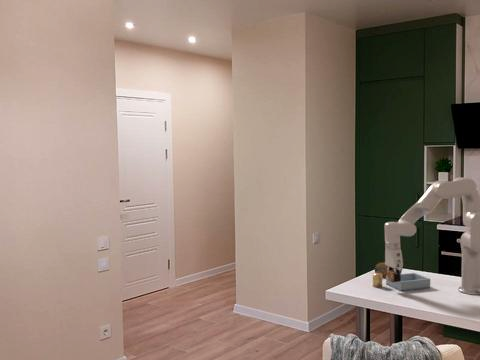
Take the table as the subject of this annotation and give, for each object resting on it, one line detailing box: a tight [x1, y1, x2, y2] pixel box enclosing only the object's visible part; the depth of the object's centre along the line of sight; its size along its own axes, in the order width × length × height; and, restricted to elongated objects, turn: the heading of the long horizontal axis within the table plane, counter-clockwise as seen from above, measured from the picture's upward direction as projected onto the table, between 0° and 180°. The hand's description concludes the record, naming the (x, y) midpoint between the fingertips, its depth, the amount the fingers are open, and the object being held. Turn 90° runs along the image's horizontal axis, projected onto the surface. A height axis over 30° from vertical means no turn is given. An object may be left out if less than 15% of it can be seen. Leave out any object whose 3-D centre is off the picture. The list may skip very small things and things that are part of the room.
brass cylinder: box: [372, 272, 383, 289], centre depth 266 cm, size 5×5×7 cm
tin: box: [374, 262, 403, 278], centre depth 286 cm, size 15×3×8 cm, turn 73°
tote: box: [385, 272, 431, 292], centre depth 266 cm, size 14×18×5 cm
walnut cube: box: [387, 270, 402, 282], centre depth 256 cm, size 5×5×5 cm
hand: (394, 279), depth 256 cm, fingers closed on walnut cube, 5 cm apart
